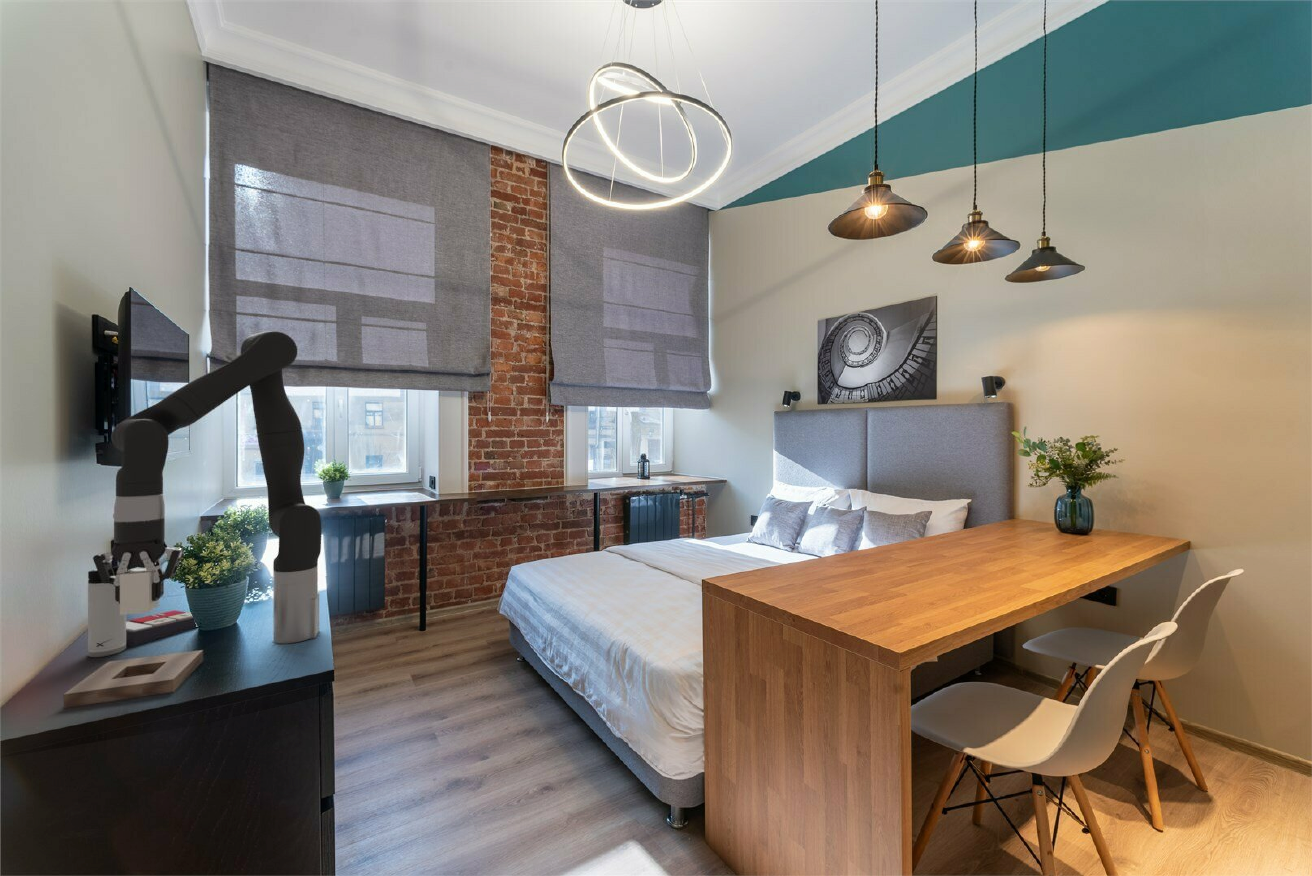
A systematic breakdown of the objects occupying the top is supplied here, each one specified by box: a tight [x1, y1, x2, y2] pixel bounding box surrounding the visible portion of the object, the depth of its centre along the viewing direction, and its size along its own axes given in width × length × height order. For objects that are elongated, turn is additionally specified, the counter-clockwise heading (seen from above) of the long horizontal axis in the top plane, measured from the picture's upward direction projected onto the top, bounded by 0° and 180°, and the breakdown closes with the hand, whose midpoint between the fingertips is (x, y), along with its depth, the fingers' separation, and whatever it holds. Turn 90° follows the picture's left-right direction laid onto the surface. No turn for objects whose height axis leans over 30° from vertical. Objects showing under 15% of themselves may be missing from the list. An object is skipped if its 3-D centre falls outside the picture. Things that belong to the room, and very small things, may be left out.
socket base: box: [63, 649, 204, 709], centre depth 112 cm, size 16×16×2 cm
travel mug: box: [87, 565, 127, 658], centre depth 127 cm, size 6×7×20 cm
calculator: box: [126, 610, 196, 647], centre depth 140 cm, size 11×4×15 cm
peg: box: [120, 568, 160, 616], centre depth 112 cm, size 4×4×8 cm
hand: (139, 601), depth 112 cm, fingers closed on peg, 4 cm apart
